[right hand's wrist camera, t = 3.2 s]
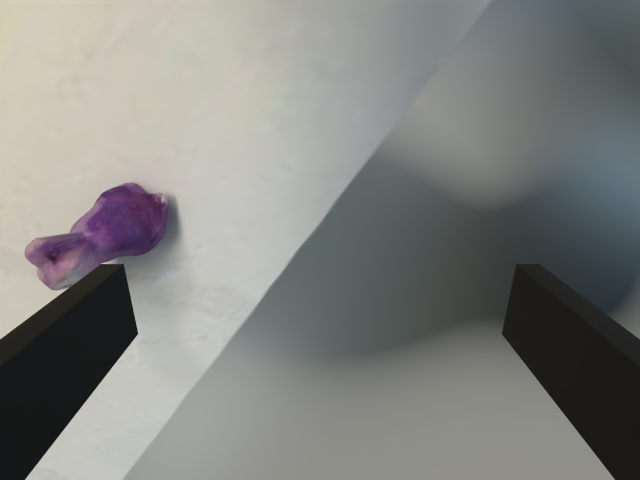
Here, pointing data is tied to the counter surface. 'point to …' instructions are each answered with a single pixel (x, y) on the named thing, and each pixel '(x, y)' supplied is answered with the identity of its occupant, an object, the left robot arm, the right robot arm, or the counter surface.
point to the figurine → (101, 236)
